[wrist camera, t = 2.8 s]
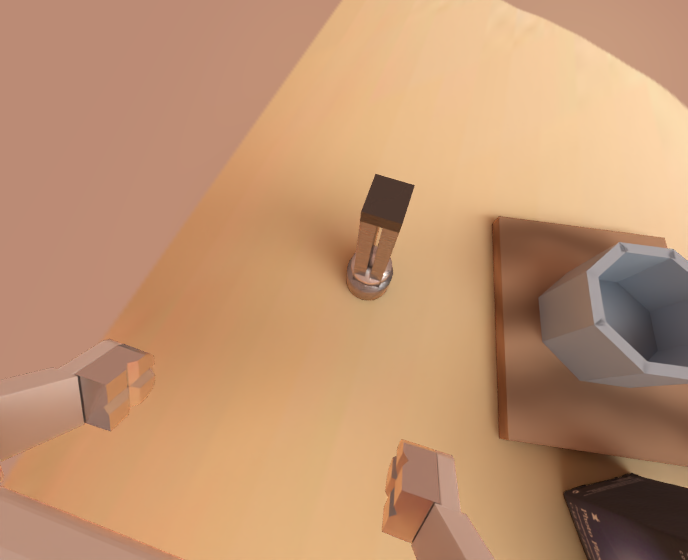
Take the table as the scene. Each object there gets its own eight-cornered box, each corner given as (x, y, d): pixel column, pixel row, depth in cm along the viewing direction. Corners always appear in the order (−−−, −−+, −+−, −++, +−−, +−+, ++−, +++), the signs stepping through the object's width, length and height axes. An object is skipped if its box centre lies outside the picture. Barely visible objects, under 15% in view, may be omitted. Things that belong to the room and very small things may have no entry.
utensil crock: (664, 392, 26) (753, 388, 21) (545, 375, 27) (600, 367, 21) (641, 282, 30) (711, 254, 24) (535, 268, 30) (581, 237, 25)
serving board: (702, 468, 26) (723, 472, 24) (499, 438, 26) (508, 439, 25) (650, 245, 33) (664, 237, 32) (492, 224, 34) (499, 216, 32)
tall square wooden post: (393, 268, 32) (429, 181, 19) (381, 306, 30) (413, 237, 18) (354, 255, 32) (365, 162, 20) (340, 292, 30) (344, 216, 18)
